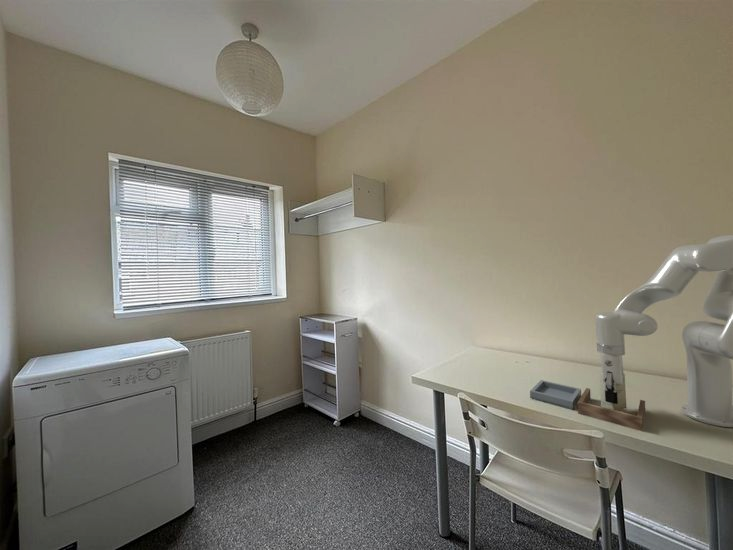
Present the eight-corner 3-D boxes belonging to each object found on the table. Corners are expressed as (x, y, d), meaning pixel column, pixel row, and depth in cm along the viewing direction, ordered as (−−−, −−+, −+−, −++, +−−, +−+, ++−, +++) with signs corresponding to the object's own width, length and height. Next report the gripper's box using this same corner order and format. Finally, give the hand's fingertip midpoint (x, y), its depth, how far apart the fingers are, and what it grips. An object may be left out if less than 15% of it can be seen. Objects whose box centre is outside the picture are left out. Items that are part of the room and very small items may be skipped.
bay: (645, 412, 100) (645, 400, 99) (642, 431, 89) (641, 418, 89) (586, 398, 112) (586, 387, 111) (577, 413, 101) (577, 402, 101)
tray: (581, 396, 113) (581, 388, 113) (572, 410, 104) (572, 401, 104) (541, 386, 123) (541, 379, 123) (530, 398, 114) (529, 391, 114)
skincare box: (614, 412, 98) (612, 377, 98) (600, 406, 102) (598, 372, 102) (627, 408, 100) (625, 373, 99) (613, 402, 104) (611, 369, 104)
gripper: (621, 357, 92) (624, 411, 92) (627, 344, 104) (630, 392, 104) (592, 353, 97) (595, 404, 98) (601, 341, 109) (603, 387, 109)
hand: (613, 397), depth 101 cm, fingers closed on skincare box, 7 cm apart
